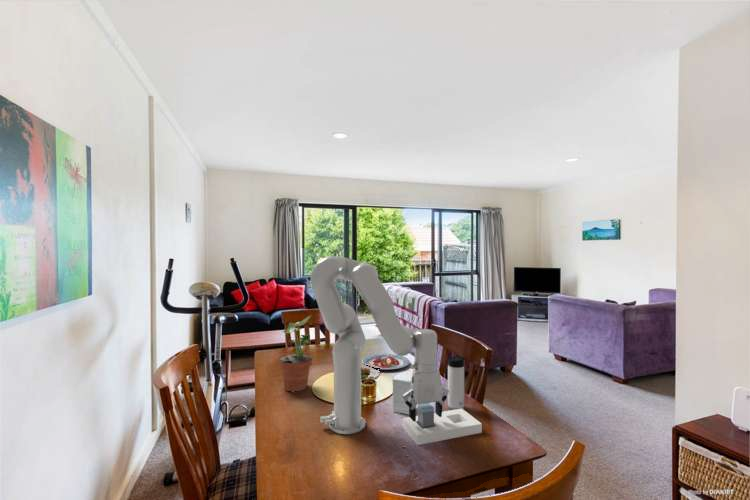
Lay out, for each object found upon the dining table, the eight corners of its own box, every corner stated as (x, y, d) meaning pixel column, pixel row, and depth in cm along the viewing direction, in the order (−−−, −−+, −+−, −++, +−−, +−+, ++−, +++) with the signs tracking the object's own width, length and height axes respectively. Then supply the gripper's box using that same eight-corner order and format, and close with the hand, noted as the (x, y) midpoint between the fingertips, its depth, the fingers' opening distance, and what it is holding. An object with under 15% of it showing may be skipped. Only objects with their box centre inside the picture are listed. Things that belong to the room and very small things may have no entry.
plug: (423, 436, 114) (423, 409, 114) (417, 430, 118) (417, 404, 118) (433, 434, 115) (433, 407, 115) (428, 428, 119) (428, 402, 119)
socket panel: (417, 445, 109) (417, 435, 109) (402, 426, 120) (402, 418, 120) (481, 432, 117) (481, 423, 117) (461, 416, 128) (461, 408, 128)
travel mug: (465, 412, 131) (465, 359, 132) (447, 410, 133) (447, 358, 133) (464, 405, 138) (464, 354, 138) (447, 403, 139) (447, 353, 139)
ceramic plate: (359, 358, 198) (359, 353, 198) (402, 356, 203) (402, 351, 203) (366, 374, 173) (366, 368, 173) (415, 371, 177) (415, 365, 177)
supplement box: (416, 407, 135) (416, 375, 135) (410, 415, 129) (410, 381, 129) (399, 404, 138) (399, 372, 139) (392, 411, 132) (392, 378, 132)
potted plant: (315, 380, 163) (315, 307, 164) (309, 393, 148) (310, 312, 148) (281, 381, 163) (282, 307, 163) (273, 394, 148) (273, 312, 148)
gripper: (406, 373, 110) (406, 426, 110) (454, 367, 116) (454, 418, 116) (398, 366, 117) (397, 416, 117) (442, 360, 123) (442, 408, 123)
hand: (425, 417), depth 117 cm, fingers open, 9 cm apart
